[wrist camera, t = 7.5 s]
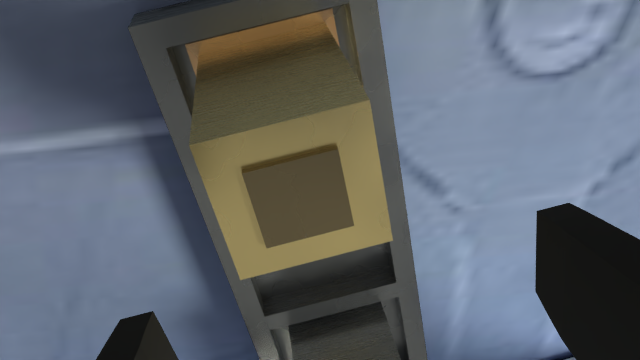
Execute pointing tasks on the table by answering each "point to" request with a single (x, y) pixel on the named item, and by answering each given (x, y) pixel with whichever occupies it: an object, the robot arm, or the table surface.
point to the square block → (345, 336)
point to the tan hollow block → (288, 151)
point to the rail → (370, 69)
